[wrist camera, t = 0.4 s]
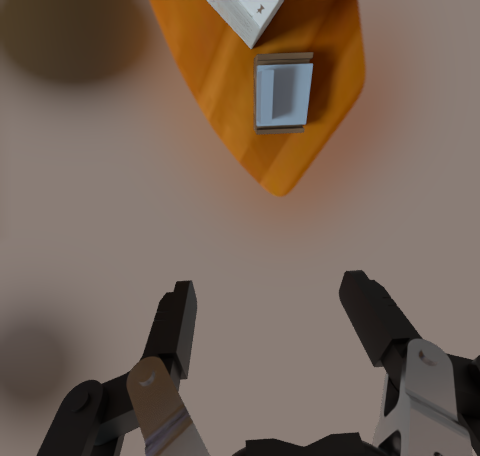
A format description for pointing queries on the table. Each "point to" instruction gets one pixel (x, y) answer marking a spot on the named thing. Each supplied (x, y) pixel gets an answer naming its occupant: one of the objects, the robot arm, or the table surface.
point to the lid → (282, 94)
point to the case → (258, 60)
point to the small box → (247, 16)
